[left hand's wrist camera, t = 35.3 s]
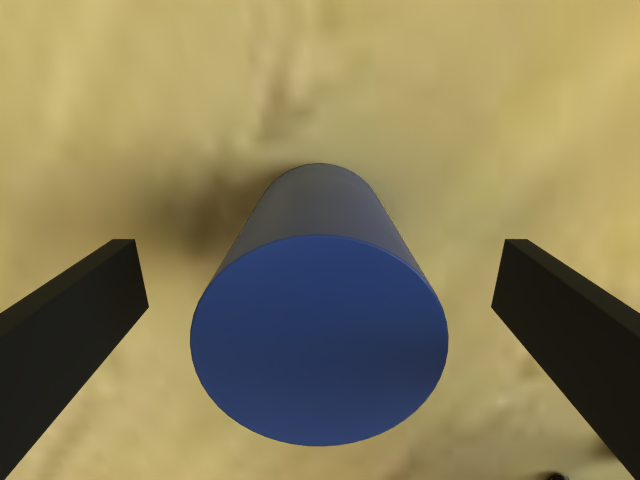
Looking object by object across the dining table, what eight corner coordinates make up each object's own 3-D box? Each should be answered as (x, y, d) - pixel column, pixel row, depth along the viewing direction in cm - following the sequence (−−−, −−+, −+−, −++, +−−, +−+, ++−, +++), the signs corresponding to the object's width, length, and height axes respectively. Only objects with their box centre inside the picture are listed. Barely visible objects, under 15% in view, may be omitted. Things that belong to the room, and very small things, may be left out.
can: (253, 279, 18) (193, 439, 9) (257, 156, 15) (183, 221, 7) (373, 289, 18) (420, 454, 9) (393, 170, 16) (479, 248, 7)
